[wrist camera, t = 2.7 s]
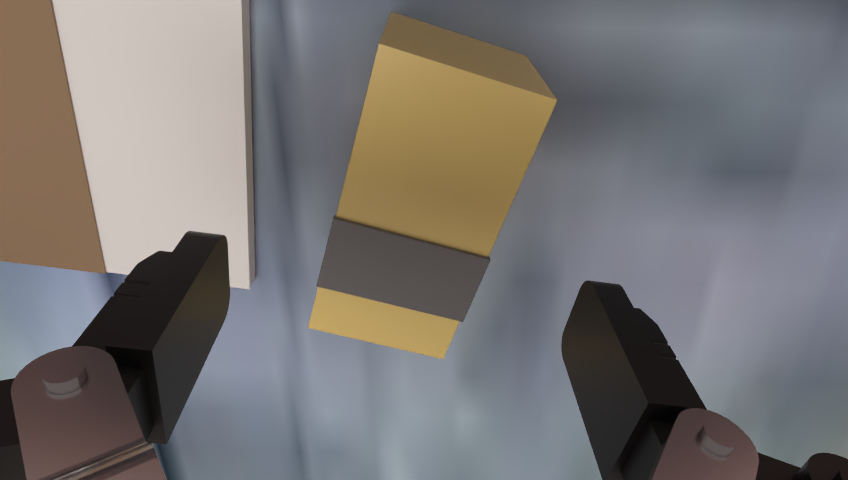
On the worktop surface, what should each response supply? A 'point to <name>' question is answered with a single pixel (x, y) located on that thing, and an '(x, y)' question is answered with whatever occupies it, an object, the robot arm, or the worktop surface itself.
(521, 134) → the block
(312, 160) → the worktop surface
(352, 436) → the worktop surface
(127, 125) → the floor panel
